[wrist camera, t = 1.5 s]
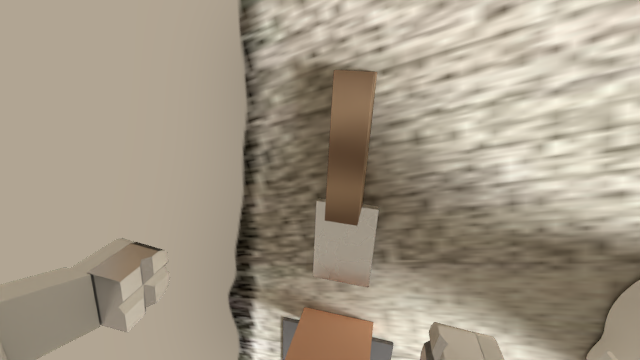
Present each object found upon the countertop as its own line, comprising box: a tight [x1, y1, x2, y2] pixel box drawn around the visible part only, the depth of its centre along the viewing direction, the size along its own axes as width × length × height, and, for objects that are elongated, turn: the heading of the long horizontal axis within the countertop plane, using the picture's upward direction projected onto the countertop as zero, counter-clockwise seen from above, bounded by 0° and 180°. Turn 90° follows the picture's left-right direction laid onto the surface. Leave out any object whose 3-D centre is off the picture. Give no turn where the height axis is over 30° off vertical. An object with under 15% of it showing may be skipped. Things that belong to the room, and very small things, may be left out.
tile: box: [285, 307, 373, 360], centre depth 30 cm, size 2×8×9 cm, turn 87°
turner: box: [313, 70, 379, 287], centre depth 26 cm, size 21×6×4 cm, turn 177°
